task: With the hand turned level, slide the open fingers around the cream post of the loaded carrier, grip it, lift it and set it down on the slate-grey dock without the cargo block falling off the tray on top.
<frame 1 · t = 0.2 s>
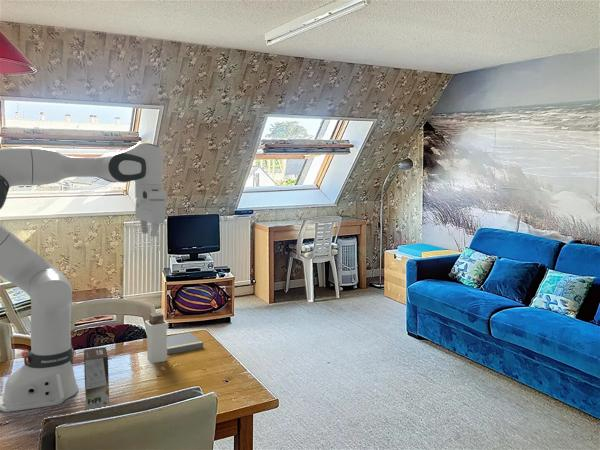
hand: (149, 234, 173), 48 cm above the table, tool pointing down, fingers open, 8 cm apart
dock: (179, 345, 205), on the table
cargo block: (156, 325, 189), point 13 cm above the table, touching carrier
coffee box: (97, 405, 155), on the table
carrier: (157, 359, 190), on the table, touching cargo block
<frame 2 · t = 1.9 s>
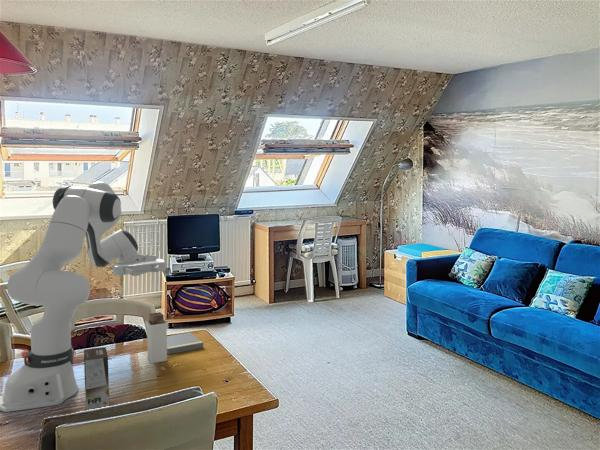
hand: (144, 271, 198), 30 cm above the table, tool horizontal, fingers open, 8 cm apart
nothing on the table moved.
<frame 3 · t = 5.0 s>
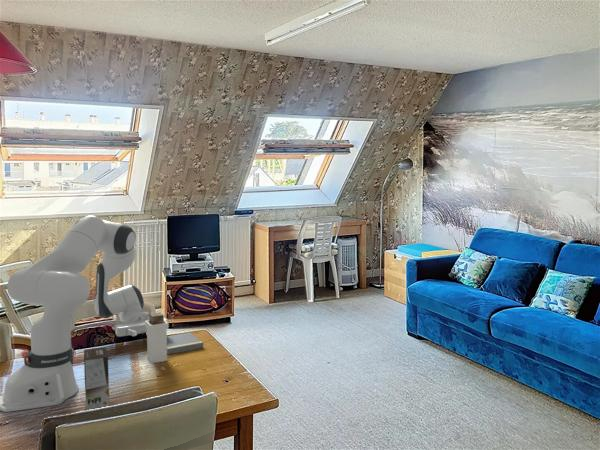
hand: (147, 332, 199), 7 cm above the table, tool horizontal, fingers open, 8 cm apart
nothing on the table moved.
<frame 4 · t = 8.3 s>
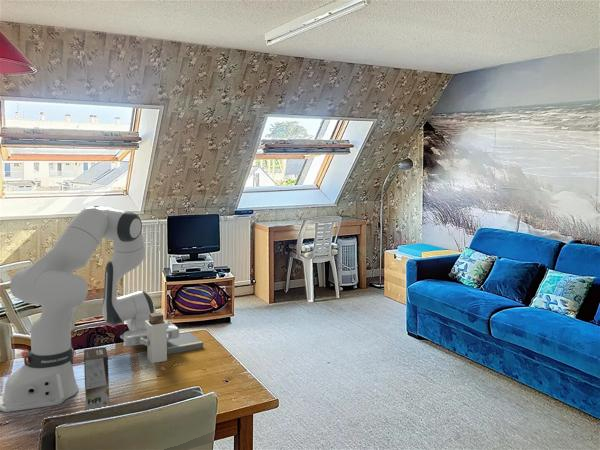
hand: (157, 341, 189), 7 cm above the table, tool horizontal, fingers closed on carrier, 5 cm apart
carrier: (157, 359, 190), on the table, touching cargo block, gripper
everything else where it was.
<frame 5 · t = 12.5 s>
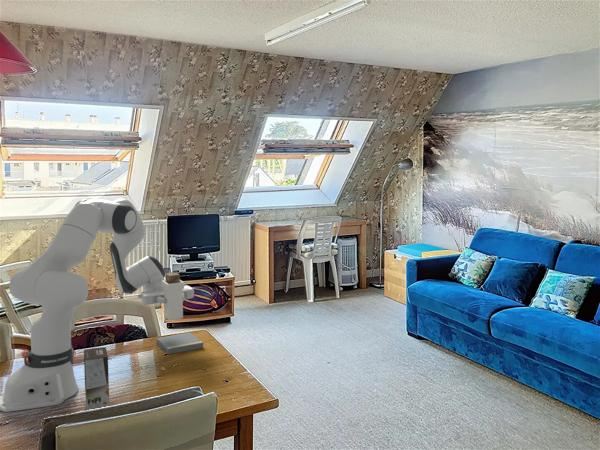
hand: (174, 300, 198), 20 cm above the table, tool horizontal, fingers closed on carrier, 5 cm apart
cargo block: (172, 284, 198), point 26 cm above the table, touching carrier
carrier: (173, 317, 200), point 13 cm above the table, touching cargo block, gripper
everything else where it was.
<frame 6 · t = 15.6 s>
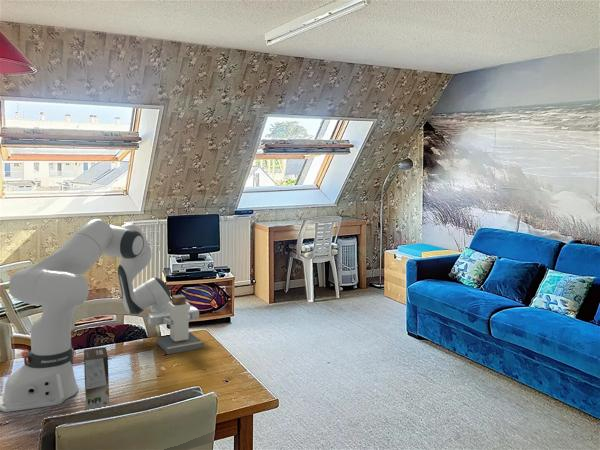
hand: (180, 321, 203), 10 cm above the table, tool horizontal, fingers closed on carrier, 5 cm apart
cargo block: (179, 306, 203), point 16 cm above the table, touching carrier
carrier: (179, 338, 205), point 3 cm above the table, touching cargo block, gripper
everything else where it was.
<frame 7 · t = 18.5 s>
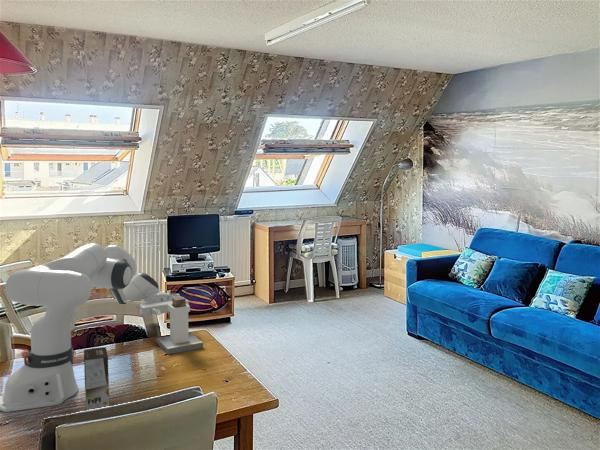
hand: (170, 311, 214), 11 cm above the table, tool horizontal, fingers open, 8 cm apart
carrier: (179, 340, 205), point 2 cm above the table, touching cargo block, dock
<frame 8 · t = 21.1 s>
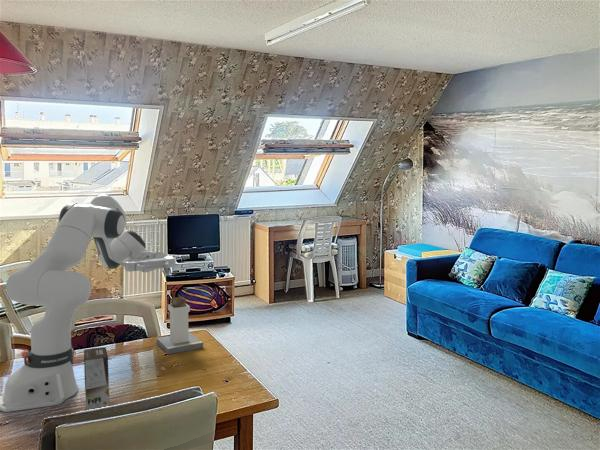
hand: (155, 267, 207), 30 cm above the table, tool horizontal, fingers open, 8 cm apart
nothing on the table moved.
at the end: carrier inside the target area on the dock (0.1 cm from its centre), point 2.0 cm above the dock's base; carrier tilted 0°; cargo block 0.1 cm off-centre on the carrier, point 13.0 cm above the carrier's base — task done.
